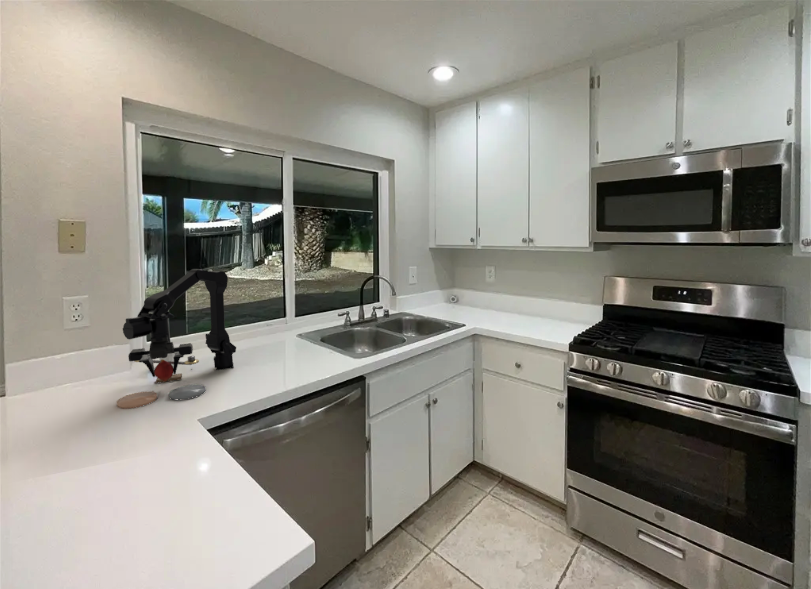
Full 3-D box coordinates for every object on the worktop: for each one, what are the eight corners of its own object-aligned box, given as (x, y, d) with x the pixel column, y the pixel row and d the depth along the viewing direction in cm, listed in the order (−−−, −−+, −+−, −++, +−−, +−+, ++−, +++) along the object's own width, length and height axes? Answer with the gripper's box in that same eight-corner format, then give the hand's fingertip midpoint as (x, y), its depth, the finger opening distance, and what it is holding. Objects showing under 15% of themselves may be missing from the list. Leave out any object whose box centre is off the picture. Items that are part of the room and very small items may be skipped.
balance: (200, 373, 154) (198, 350, 153) (199, 377, 150) (197, 353, 148) (138, 381, 146) (135, 357, 145) (135, 386, 141) (132, 361, 140)
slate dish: (206, 385, 142) (206, 382, 141) (205, 396, 132) (204, 393, 131) (171, 390, 137) (171, 387, 137) (167, 402, 127) (166, 399, 127)
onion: (170, 376, 143) (167, 355, 142) (177, 380, 140) (175, 358, 138) (152, 381, 138) (150, 360, 137) (160, 385, 135) (157, 362, 134)
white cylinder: (170, 370, 159) (168, 353, 158) (155, 369, 160) (153, 352, 159) (182, 364, 166) (181, 348, 164) (168, 363, 167) (167, 347, 166)
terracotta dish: (159, 392, 136) (159, 389, 135) (154, 404, 126) (154, 401, 125) (121, 398, 131) (121, 394, 131) (112, 411, 121) (112, 407, 121)
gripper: (122, 341, 125) (127, 387, 128) (188, 334, 133) (192, 378, 135) (129, 333, 135) (135, 376, 138) (191, 327, 143) (195, 368, 145)
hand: (164, 375), depth 139 cm, fingers closed on onion, 6 cm apart
